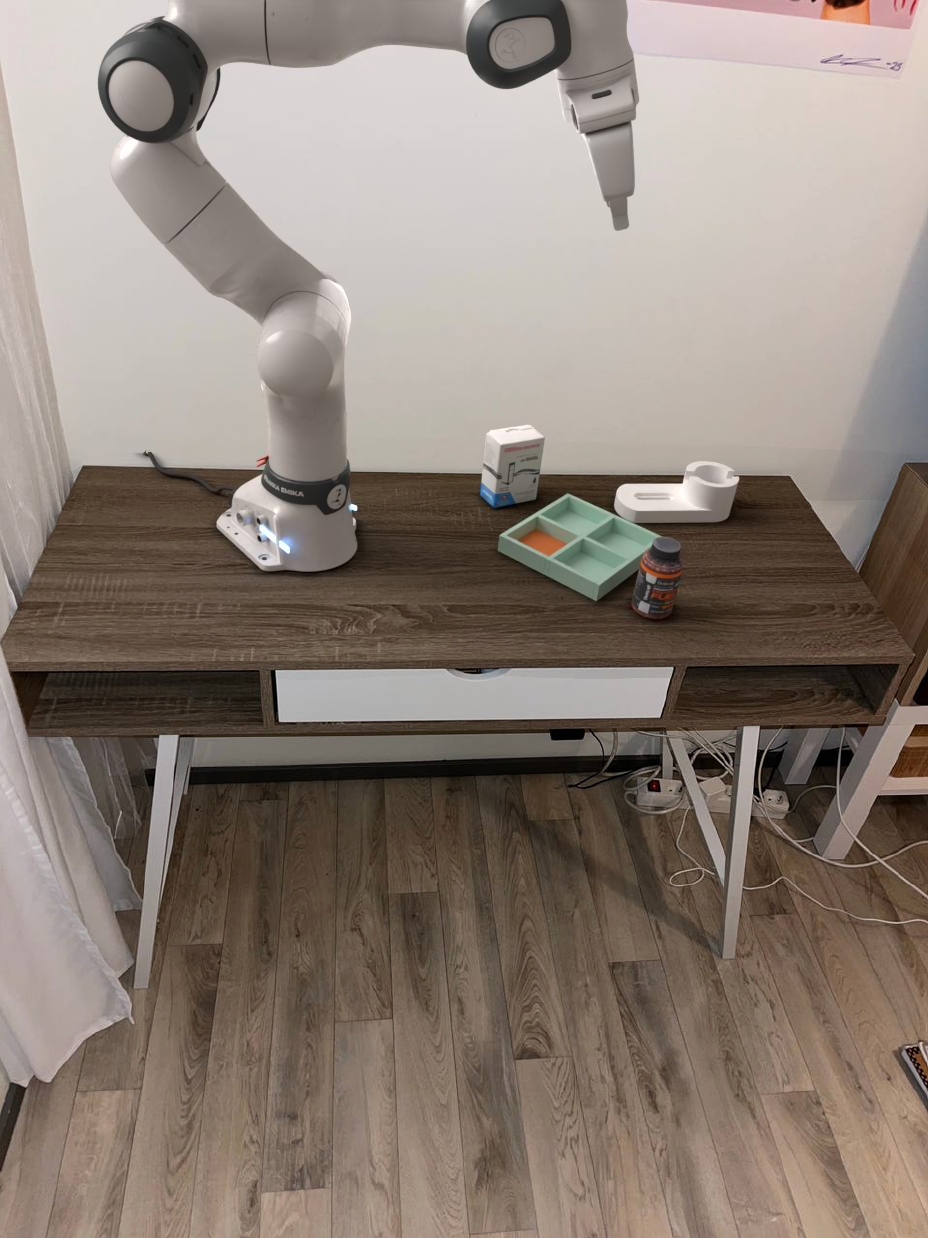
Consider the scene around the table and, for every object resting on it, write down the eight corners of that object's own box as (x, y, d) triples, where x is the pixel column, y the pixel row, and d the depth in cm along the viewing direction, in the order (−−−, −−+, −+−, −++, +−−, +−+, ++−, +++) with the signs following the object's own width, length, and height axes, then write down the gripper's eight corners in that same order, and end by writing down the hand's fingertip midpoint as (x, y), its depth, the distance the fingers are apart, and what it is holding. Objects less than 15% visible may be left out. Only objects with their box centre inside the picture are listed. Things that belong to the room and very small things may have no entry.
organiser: (497, 550, 156) (499, 534, 154) (565, 508, 168) (567, 493, 166) (596, 601, 147) (599, 585, 145) (660, 552, 159) (664, 537, 157)
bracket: (719, 495, 175) (728, 461, 171) (736, 521, 168) (746, 487, 164) (608, 495, 172) (614, 460, 168) (621, 523, 165) (628, 487, 161)
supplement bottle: (646, 625, 143) (662, 559, 137) (622, 602, 147) (636, 537, 141) (679, 616, 146) (696, 550, 139) (655, 593, 150) (670, 528, 143)
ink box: (493, 509, 166) (500, 444, 158) (478, 494, 169) (485, 430, 162) (537, 499, 169) (546, 436, 162) (522, 485, 173) (530, 423, 165)
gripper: (566, 84, 124) (585, 198, 132) (577, 121, 108) (598, 248, 116) (617, 70, 123) (633, 186, 131) (636, 106, 107) (653, 235, 115)
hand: (617, 216), depth 124 cm, fingers open, 8 cm apart
